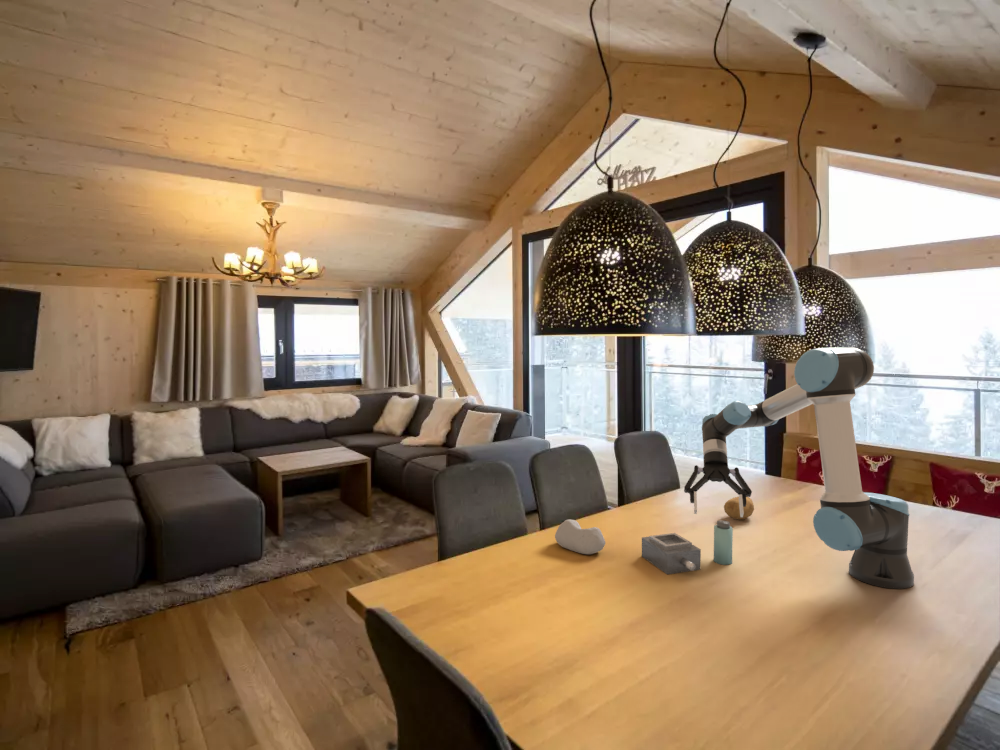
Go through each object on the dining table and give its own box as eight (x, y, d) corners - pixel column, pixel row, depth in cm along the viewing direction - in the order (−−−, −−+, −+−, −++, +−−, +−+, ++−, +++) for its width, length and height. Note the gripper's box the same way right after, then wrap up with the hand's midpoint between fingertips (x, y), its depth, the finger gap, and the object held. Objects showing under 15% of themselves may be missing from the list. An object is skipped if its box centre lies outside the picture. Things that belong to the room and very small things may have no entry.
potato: (760, 516, 213) (760, 495, 212) (745, 526, 203) (745, 503, 202) (733, 511, 220) (734, 490, 219) (718, 520, 210) (718, 498, 209)
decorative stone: (546, 538, 185) (559, 510, 188) (562, 548, 192) (575, 521, 194) (587, 557, 172) (600, 527, 175) (603, 568, 179) (616, 538, 181)
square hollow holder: (709, 575, 162) (709, 550, 162) (675, 580, 159) (675, 554, 159) (669, 549, 181) (669, 527, 181) (638, 554, 178) (638, 531, 178)
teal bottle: (735, 563, 170) (736, 524, 169) (721, 565, 168) (721, 526, 168) (724, 557, 175) (725, 518, 174) (709, 559, 173) (710, 520, 173)
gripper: (754, 464, 191) (760, 522, 178) (676, 460, 198) (676, 516, 185) (756, 451, 186) (763, 510, 173) (676, 448, 193) (677, 504, 179)
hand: (718, 513), depth 179 cm, fingers open, 13 cm apart
